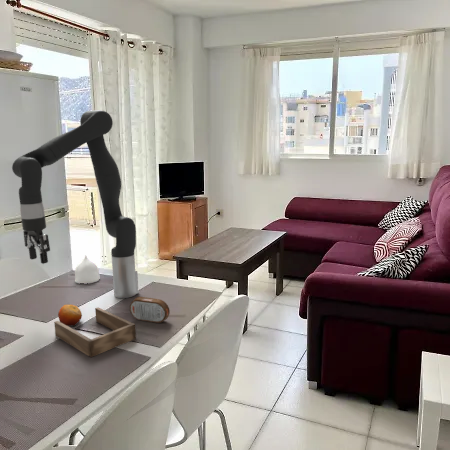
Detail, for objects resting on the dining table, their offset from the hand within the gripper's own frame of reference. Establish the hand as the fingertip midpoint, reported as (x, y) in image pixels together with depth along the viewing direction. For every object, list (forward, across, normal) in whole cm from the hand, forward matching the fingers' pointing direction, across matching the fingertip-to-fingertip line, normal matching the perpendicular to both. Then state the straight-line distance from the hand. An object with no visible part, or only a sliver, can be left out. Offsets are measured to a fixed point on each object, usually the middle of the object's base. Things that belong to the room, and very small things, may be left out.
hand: (38, 260), depth 153 cm
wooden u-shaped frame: (+22, -27, -4) cm, 35 cm away
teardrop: (+23, +29, -34) cm, 51 cm away
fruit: (+23, -11, -4) cm, 25 cm away
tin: (+23, -30, -24) cm, 44 cm away
